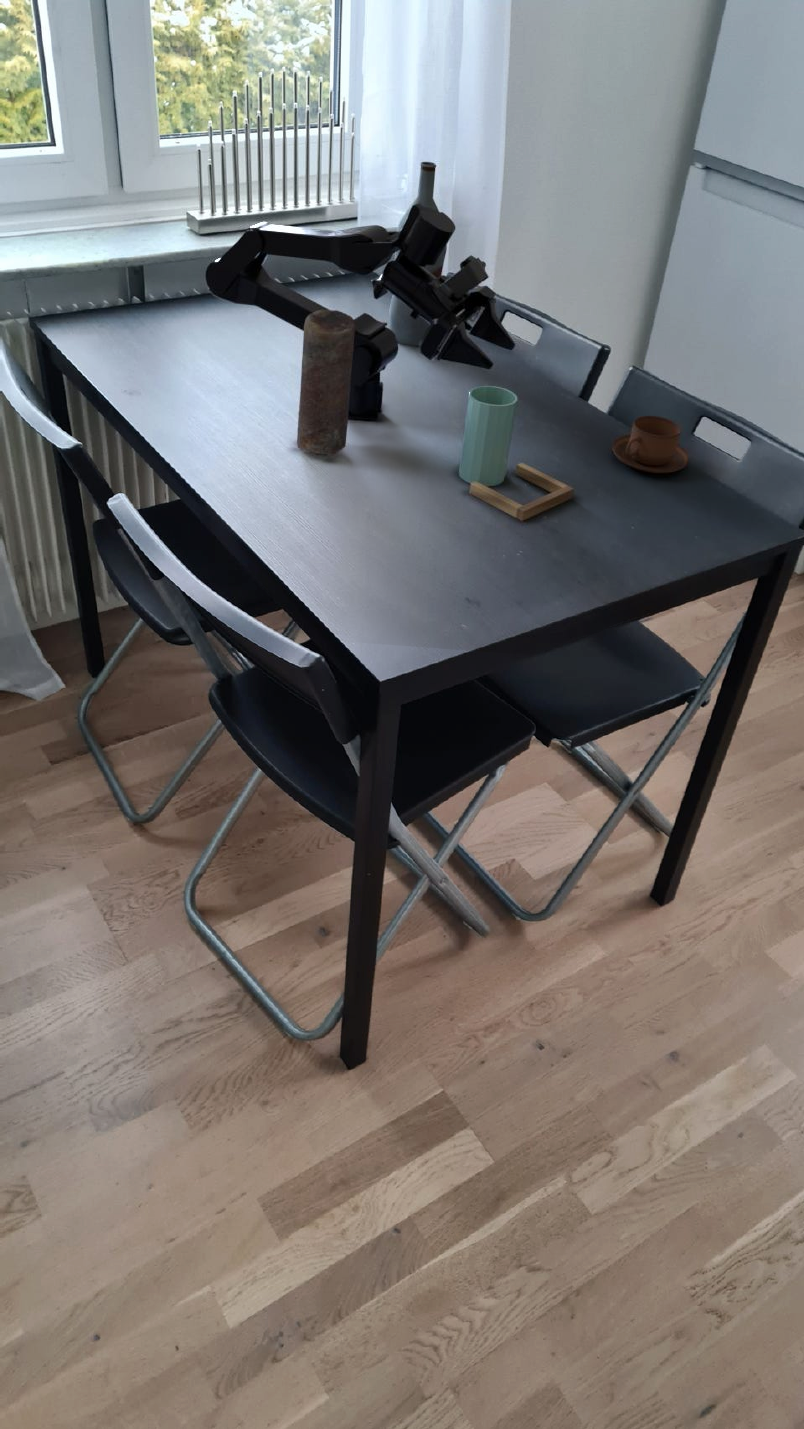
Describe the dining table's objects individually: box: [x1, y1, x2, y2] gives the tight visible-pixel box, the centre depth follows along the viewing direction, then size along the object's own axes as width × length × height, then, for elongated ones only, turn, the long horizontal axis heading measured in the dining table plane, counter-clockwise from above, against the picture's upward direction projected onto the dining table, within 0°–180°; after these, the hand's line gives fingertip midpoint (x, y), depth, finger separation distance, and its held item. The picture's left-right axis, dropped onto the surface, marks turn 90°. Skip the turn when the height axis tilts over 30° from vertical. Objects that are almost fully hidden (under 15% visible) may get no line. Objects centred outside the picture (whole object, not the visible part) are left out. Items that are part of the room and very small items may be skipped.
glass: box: [458, 385, 519, 487], centre depth 162 cm, size 7×7×12 cm
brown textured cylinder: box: [296, 309, 355, 457], centre depth 162 cm, size 8×7×20 cm
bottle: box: [388, 161, 448, 347], centre depth 198 cm, size 9×9×30 cm
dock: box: [468, 462, 575, 522], centre depth 162 cm, size 10×12×2 cm
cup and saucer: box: [612, 415, 690, 474], centre depth 173 cm, size 12×12×6 cm
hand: (502, 357), depth 164 cm, fingers open, 9 cm apart
